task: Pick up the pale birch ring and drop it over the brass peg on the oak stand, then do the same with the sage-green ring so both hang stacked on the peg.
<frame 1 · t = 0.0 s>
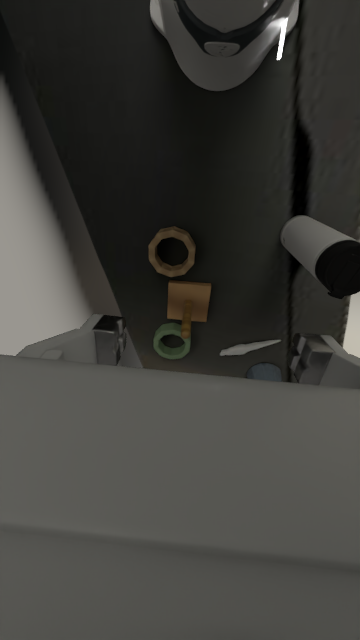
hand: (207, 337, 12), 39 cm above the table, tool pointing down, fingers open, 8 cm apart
moka pot: (263, 372, 65), on the table
sage ring: (172, 337, 61), on the table
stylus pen: (248, 344, 60), on the table
peg stand: (188, 300, 55), on the table
birch ring: (173, 250, 49), on the table
travel mug: (296, 233, 46), on the table
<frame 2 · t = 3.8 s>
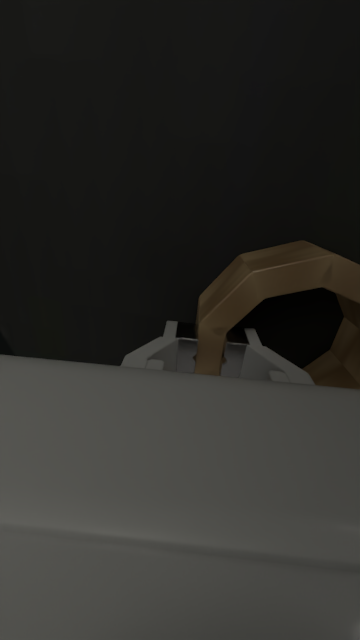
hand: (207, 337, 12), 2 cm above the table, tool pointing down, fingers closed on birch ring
birch ring: (276, 327, 13), on the table, touching gripper
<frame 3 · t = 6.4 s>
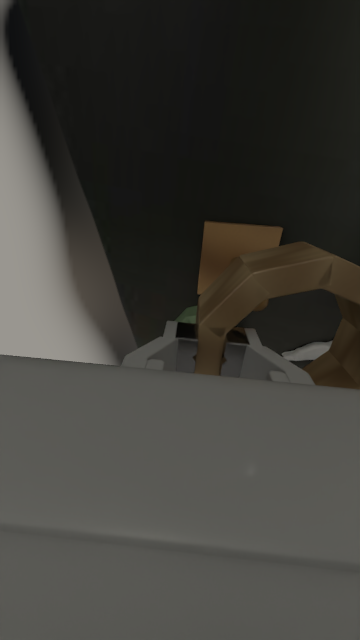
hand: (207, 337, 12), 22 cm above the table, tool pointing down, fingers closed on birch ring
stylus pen: (329, 342, 36), on the table
peg stand: (235, 260, 31), on the table
birch ring: (275, 328, 13), point 20 cm above the table, touching gripper
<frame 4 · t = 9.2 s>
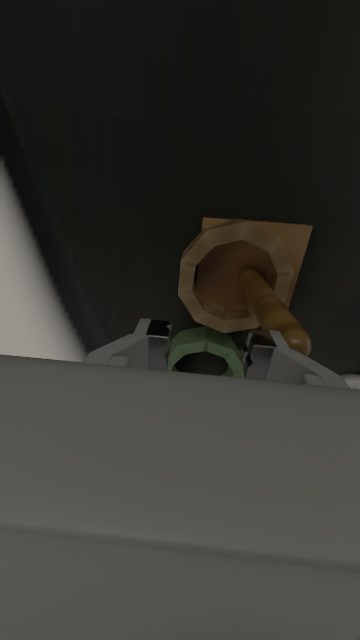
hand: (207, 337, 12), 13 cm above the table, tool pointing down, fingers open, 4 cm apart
sage ring: (201, 360, 28), on the table
peg stand: (244, 270, 23), on the table
birch ring: (229, 273, 22), point 1 cm above the table, touching peg stand
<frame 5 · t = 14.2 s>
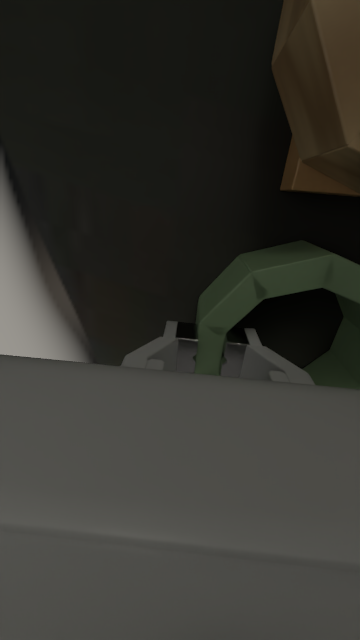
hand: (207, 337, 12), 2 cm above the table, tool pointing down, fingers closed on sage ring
sage ring: (276, 327, 13), on the table, touching gripper
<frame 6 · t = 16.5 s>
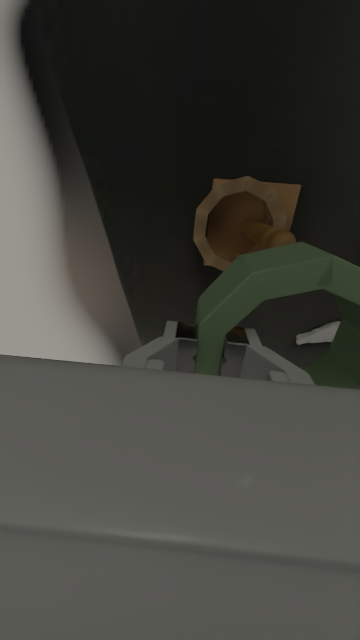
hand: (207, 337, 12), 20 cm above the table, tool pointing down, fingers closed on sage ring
sage ring: (275, 328, 13), point 18 cm above the table, touching gripper
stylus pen: (349, 322, 33), on the table
peg stand: (246, 226, 28), on the table
birch ring: (234, 226, 27), point 1 cm above the table, touching peg stand
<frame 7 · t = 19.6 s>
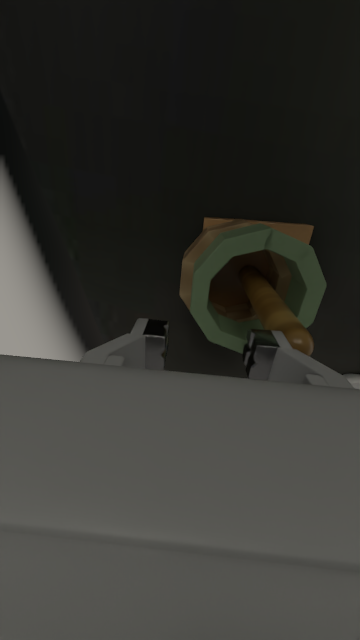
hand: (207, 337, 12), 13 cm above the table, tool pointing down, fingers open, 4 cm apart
sage ring: (247, 284, 19), point 4 cm above the table, touching birch ring
peg stand: (245, 270, 23), on the table
birch ring: (231, 273, 22), point 1 cm above the table, touching peg stand, sage ring
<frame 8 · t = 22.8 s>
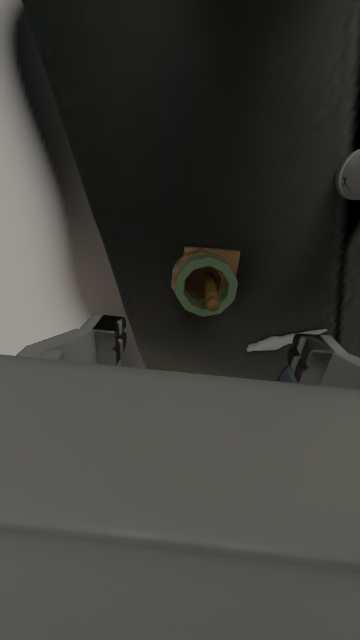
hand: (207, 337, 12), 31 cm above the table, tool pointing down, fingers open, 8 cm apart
sage ring: (205, 282, 38), point 4 cm above the table, touching birch ring
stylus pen: (283, 336, 47), on the table
peg stand: (208, 274, 42), on the table
birch ring: (199, 276, 41), point 1 cm above the table, touching peg stand, sage ring
travel mug: (356, 176, 34), on the table
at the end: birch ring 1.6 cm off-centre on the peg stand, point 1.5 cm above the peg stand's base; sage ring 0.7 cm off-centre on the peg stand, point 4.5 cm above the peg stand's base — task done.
